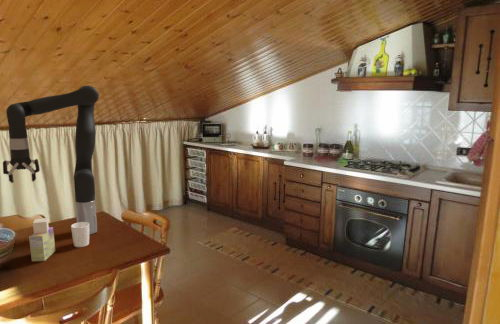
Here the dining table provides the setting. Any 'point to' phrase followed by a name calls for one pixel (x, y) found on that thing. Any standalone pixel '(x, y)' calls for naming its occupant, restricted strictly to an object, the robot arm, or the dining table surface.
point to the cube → (40, 225)
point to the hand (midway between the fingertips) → (22, 181)
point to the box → (42, 245)
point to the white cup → (80, 234)
